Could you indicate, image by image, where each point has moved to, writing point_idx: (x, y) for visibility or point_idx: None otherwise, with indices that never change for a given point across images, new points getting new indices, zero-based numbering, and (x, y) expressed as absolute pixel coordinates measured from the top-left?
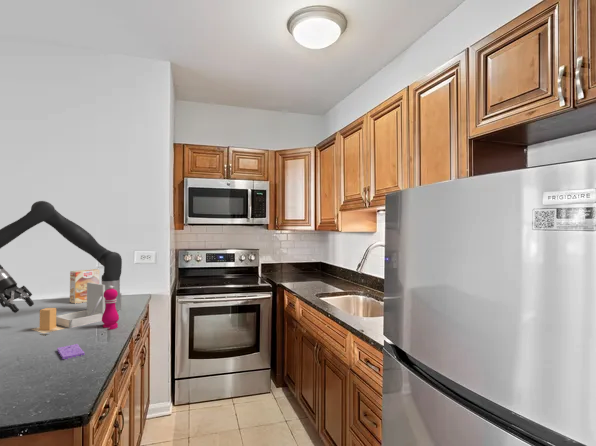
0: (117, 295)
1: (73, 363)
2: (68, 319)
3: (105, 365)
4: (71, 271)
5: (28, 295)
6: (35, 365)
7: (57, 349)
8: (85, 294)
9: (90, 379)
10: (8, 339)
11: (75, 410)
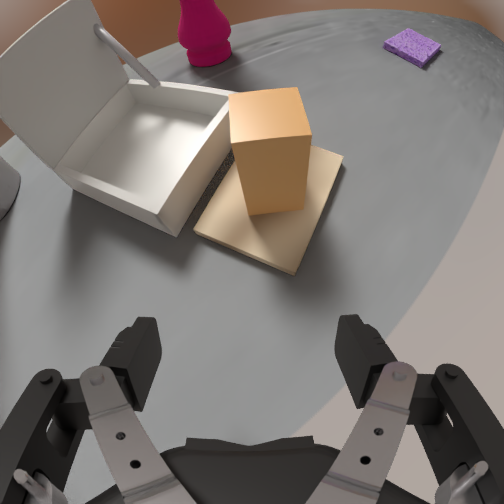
0: None
1: (436, 37)
2: (226, 106)
3: (415, 14)
4: None
5: (84, 385)
6: (476, 74)
7: (423, 62)
8: None
9: (448, 22)
10: (425, 266)
11: (482, 27)
